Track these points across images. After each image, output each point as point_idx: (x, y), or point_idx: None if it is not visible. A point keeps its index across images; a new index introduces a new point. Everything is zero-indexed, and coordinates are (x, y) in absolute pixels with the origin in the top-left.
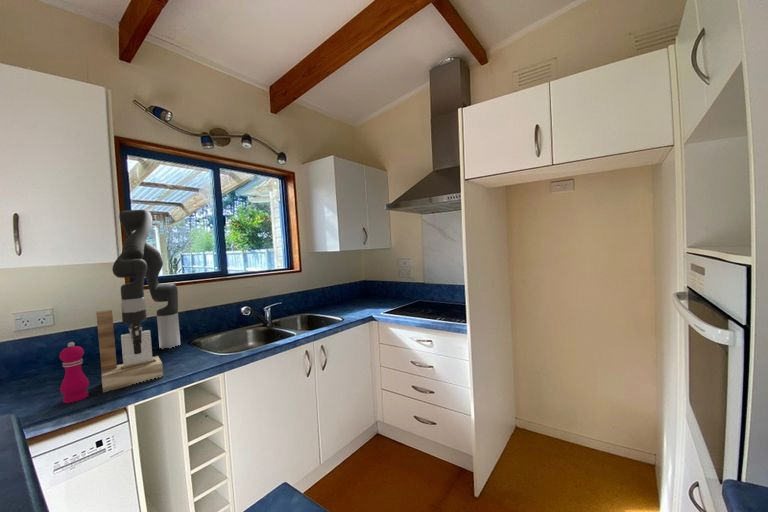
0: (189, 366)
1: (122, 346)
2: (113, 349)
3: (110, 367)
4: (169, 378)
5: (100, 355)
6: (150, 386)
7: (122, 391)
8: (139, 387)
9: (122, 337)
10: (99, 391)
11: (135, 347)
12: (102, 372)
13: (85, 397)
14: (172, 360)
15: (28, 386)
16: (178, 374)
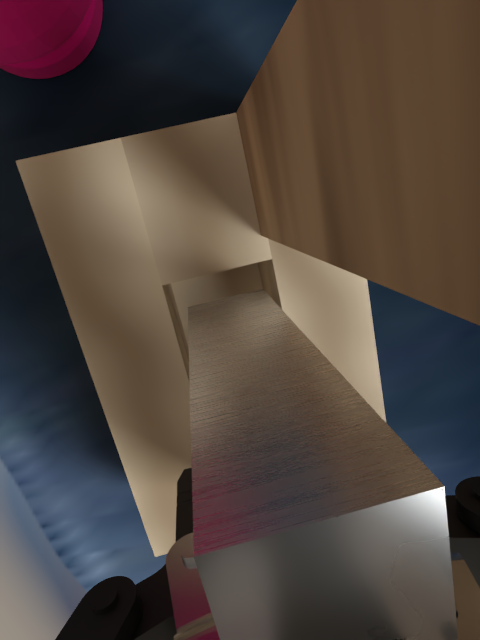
0: None
1: (193, 403)
2: (314, 234)
3: (255, 185)
4: (96, 521)
5: (270, 58)
6: (4, 446)
7: (5, 298)
8: (25, 386)
9: (200, 544)
10: (105, 140)
11: (178, 527)
12: (197, 129)
13: (4, 69)
14: None
15: None
16: (143, 555)
